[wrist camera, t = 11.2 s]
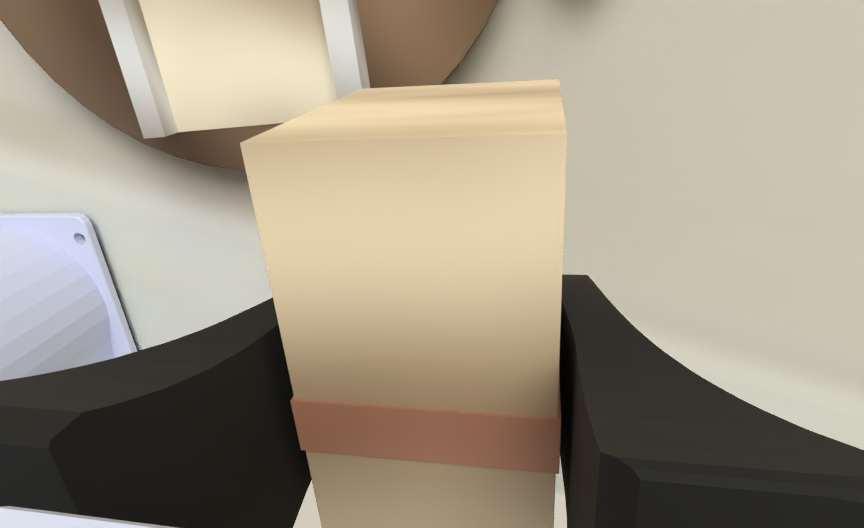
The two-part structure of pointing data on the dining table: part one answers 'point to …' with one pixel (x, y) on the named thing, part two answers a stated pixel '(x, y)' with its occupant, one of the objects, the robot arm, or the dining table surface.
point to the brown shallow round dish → (235, 60)
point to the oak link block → (421, 299)
